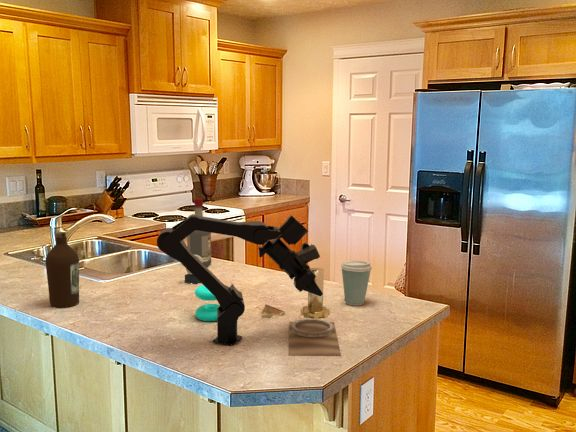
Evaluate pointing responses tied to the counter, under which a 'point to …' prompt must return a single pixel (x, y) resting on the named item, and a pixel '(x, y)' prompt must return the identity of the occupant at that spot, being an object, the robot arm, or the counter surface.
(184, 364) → the counter surface
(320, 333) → the carrier plate
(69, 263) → the olive oil
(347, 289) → the disposable coffee cup
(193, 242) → the liquor
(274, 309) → the shard
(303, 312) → the gold piece
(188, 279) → the watch
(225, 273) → the counter surface
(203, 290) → the turquoise yo-yo shaped spool
